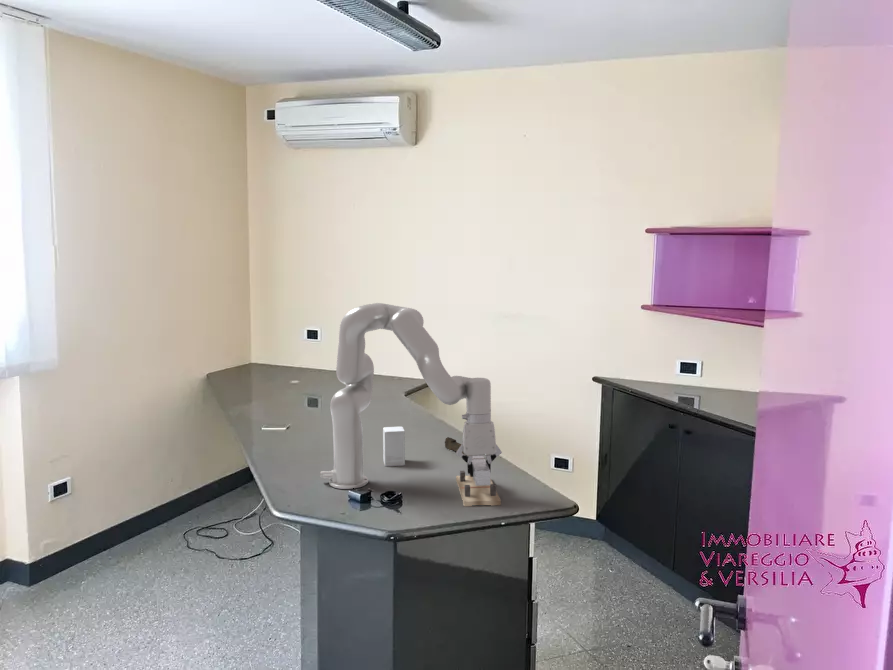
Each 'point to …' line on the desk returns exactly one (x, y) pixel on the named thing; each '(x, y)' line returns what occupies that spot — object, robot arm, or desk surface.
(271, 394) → the desk surface
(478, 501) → the board
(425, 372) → the robot arm
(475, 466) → the light grey long block
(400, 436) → the supplement box
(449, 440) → the hand tool
